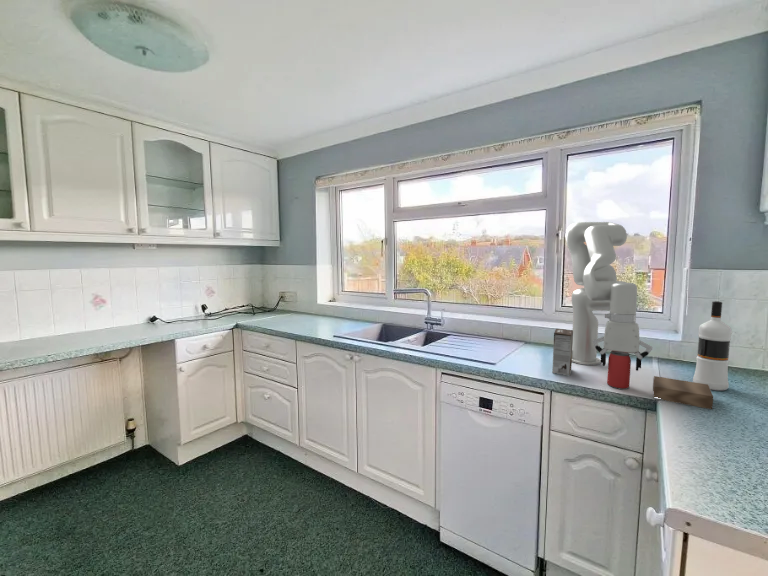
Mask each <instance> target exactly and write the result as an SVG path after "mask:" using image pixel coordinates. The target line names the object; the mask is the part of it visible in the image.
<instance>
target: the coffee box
mask: <svg viewBox="0 0 768 576" xmlns="http://www.w3.org/2000/svg"><path fill="white" fill-rule="evenodd" d="M572 344H573V329H571V330H570V329H564V328H555V330H554V332H553V346H552V347H553V348H552V349H553V350H552V351H553V352H552V374H555V373H557V374H556V375H562V374H563V375H562V376H568V375H570V376H571V372H572V365H573V364H572V363H573V362H572Z"/></svg>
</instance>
